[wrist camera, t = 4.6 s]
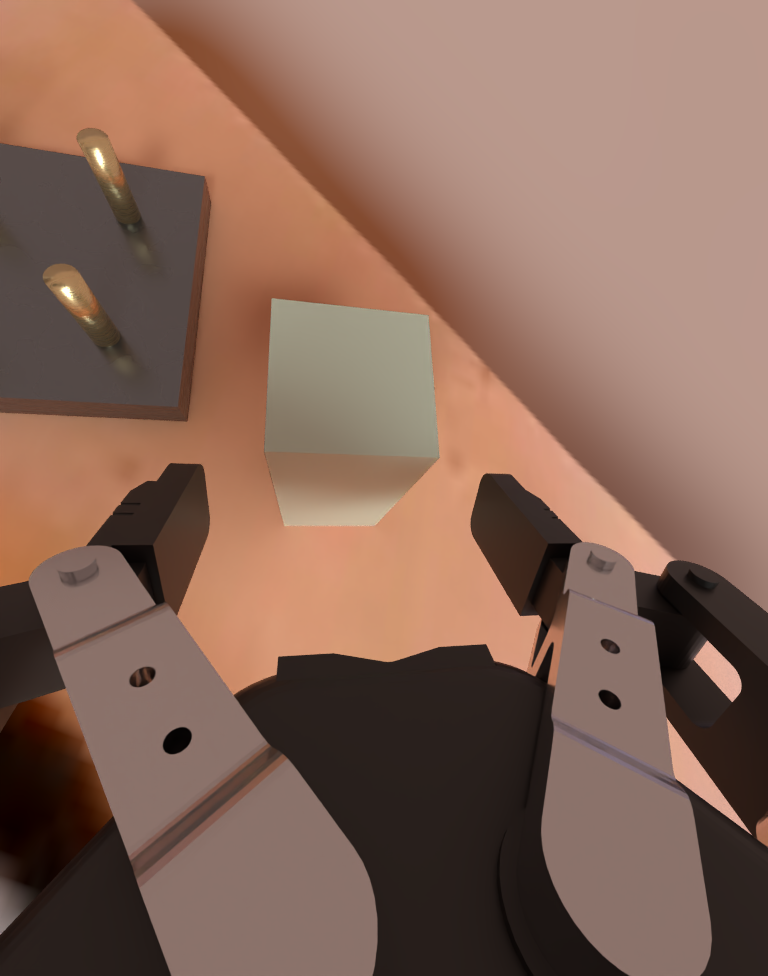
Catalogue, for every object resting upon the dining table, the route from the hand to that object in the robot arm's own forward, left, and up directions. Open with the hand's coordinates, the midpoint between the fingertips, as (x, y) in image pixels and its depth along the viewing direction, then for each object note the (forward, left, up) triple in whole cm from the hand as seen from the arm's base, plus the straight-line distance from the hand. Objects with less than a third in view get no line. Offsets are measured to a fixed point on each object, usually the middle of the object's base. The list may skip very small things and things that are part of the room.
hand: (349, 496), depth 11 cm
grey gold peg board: (-14, +13, -8) cm, 21 cm away
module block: (0, +3, -8) cm, 9 cm away
